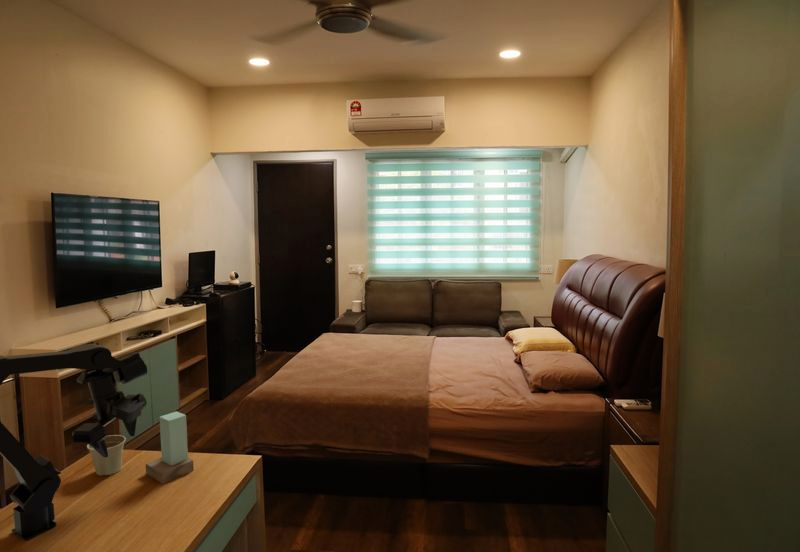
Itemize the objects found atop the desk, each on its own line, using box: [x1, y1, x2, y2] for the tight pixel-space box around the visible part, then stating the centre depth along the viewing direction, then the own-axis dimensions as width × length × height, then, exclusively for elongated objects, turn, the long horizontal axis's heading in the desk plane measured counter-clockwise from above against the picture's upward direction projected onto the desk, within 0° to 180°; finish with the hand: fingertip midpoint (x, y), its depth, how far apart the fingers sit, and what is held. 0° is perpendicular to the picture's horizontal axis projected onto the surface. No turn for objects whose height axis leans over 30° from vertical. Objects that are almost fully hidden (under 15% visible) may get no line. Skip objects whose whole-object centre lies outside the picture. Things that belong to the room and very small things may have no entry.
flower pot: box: [86, 434, 127, 477], centre depth 138 cm, size 9×9×9 cm
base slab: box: [145, 457, 194, 484], centre depth 138 cm, size 9×9×3 cm
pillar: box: [159, 411, 189, 466], centre depth 138 cm, size 5×5×13 cm
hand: (119, 446), depth 126 cm, fingers open, 9 cm apart
